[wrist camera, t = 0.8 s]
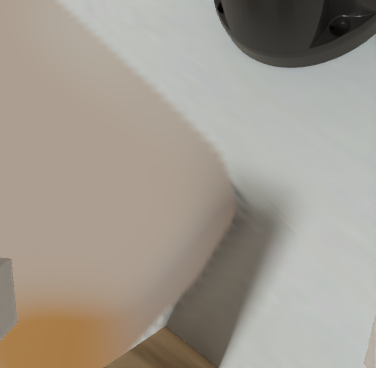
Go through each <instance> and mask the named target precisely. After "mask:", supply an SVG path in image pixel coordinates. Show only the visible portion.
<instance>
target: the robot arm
mask: <svg viewBox="0 0 376 368" xmlns="http://www.w3.org/2000/svg"><path fill="white" fill-rule="evenodd" d="M214 3H215V7H216V11H217V14H218V16H219V19H220V21H221V23H222V25H223V27H224V28H225V30H226V32H227V33H228V35H229V36H230V38H231V39H232V41H233V42H234V43H235V45H236V46H237V47H238V48H239V49H240V50H241V51H242V52H244V53H245V54H246V55H248V56H249V57H251V58H253V59H255V60H257V61H259V62H261V63H264V64H267V65H271V66H277V67H287V68H296V67H306V66H312V65H316V64H320V63H324V62H327V61H330V60H332V59H335V58H337V57H340V56H342V55H344V54H346V53H348V52H350V51H351V50H353V49H355V48H357V47H358V46H360V45H361V44H363V43H364V42H366V41H367V40H368V39H370V38H371V37H372V36H373V35H374V34H376V0H214ZM16 323H17V313H16V302H15V292H14V282H13V273H12V262H11V259H7V258H0V340H1V339H2V338H3V337H4V336H5V335H6V334H7V333H8V332H9V331H10V330H11V329H12V328H13V326H14V325H15V324H16ZM364 364H365V366H366V368H376V315H375V319H374V323H373V327H372V332H371V336H370V340H369V344H368V348H367V352H366V357H365V361H364Z"/></svg>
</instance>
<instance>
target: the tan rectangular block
mask: <svg viewBox="0 0 376 368" xmlns="http://www.w3.org/2000/svg"><path fill="white" fill-rule="evenodd" d="M104 368H217V367H216V366H215V365H213V364H212V363H211V362H209V361H208V360H207V359H206V358H204V357H203V356H202V355H200V354H199V353H198V352H197V351H195V350H194V349H193V348H192V347H190V346H189V345H188V344H186V343H185V342H184V341H183V340H181V339H180V338H179V337H177V336H176V335H175V334H174V333H172V332H171V331H170V330H168V329H167V328H166V327H164V328H162V329H161V330H159V331H158V332H156V333H155V334H153V335H152V336H150V337H149V338H147V339H146V340H144V341H143V342H141V343H140V344H138V345H137V346H135V347H134V348H132V349H131V350H129V351H128V352H127V353H125V354H124V355H122V356H121V357H119V358H118V359H116V360H115V361H113V362H112V363H110V364H109V365H107V366H106V367H104Z"/></svg>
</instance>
